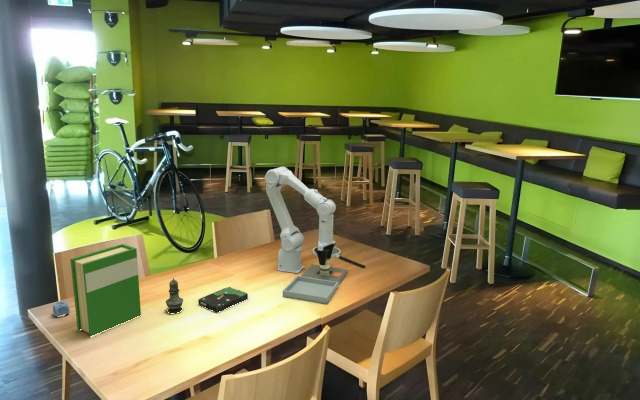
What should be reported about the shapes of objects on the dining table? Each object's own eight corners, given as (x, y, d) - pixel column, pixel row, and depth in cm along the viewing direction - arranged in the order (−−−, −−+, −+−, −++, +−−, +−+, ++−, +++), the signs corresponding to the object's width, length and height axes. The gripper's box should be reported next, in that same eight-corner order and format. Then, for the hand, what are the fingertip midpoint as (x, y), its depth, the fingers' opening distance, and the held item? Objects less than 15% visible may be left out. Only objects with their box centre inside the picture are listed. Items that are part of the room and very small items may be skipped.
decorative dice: (66, 310, 161) (65, 300, 160) (70, 315, 158) (68, 304, 157) (53, 314, 158) (52, 303, 158) (56, 318, 156) (55, 307, 155)
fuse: (318, 277, 195) (318, 261, 193) (321, 273, 199) (321, 257, 197) (327, 278, 194) (328, 262, 192) (330, 275, 198) (331, 259, 196)
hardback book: (91, 338, 145) (84, 264, 139) (77, 330, 149) (70, 258, 143) (141, 316, 159) (136, 248, 153) (127, 310, 163) (122, 243, 157)
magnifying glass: (353, 273, 202) (353, 268, 202) (306, 253, 224) (306, 249, 224) (374, 266, 211) (374, 261, 210) (327, 247, 233) (327, 243, 232)
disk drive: (217, 315, 162) (248, 300, 174) (217, 307, 162) (248, 292, 173) (197, 306, 168) (228, 292, 180) (197, 299, 168) (228, 285, 179)
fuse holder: (300, 279, 192) (300, 275, 192) (311, 267, 205) (311, 263, 205) (338, 285, 188) (338, 281, 187) (347, 272, 201) (347, 269, 200)
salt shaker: (167, 315, 160) (166, 282, 157) (164, 308, 165) (162, 276, 162) (185, 312, 162) (184, 279, 159) (181, 305, 167) (180, 273, 164)
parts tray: (282, 296, 176) (282, 290, 176) (297, 281, 190) (297, 275, 190) (326, 304, 171) (326, 298, 170) (338, 288, 185) (338, 282, 185)
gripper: (330, 236, 184) (329, 269, 187) (340, 226, 197) (339, 257, 200) (313, 234, 186) (312, 266, 189) (324, 224, 199) (323, 255, 202)
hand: (325, 261), depth 195 cm, fingers open, 7 cm apart
